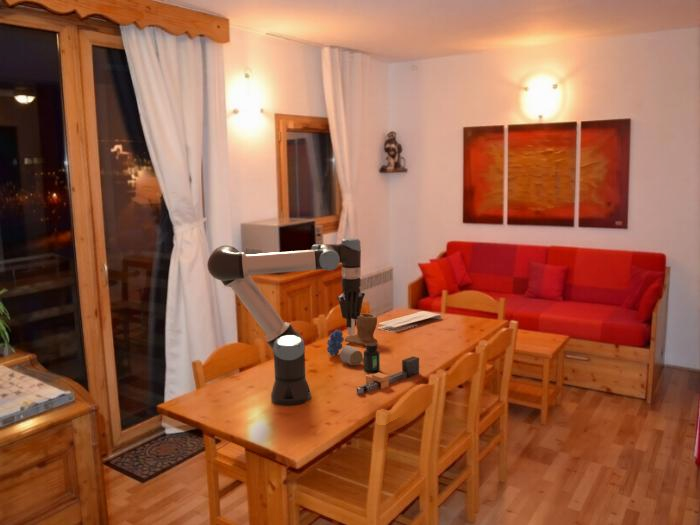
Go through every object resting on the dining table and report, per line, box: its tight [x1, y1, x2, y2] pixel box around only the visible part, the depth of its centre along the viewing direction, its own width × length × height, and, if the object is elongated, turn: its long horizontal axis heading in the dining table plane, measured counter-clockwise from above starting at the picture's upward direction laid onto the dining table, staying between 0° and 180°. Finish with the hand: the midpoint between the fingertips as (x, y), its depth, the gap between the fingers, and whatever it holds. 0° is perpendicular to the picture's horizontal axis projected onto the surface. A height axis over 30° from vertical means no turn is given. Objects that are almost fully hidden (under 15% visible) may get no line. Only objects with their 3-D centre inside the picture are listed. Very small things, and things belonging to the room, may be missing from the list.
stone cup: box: [344, 312, 378, 346], centre depth 298 cm, size 15×12×15 cm
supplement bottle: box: [363, 343, 381, 374], centre depth 257 cm, size 7×7×12 cm
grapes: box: [326, 329, 345, 357], centre depth 281 cm, size 12×7×12 cm, turn 144°
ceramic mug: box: [339, 345, 364, 367], centre depth 269 cm, size 11×8×8 cm
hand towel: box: [377, 310, 443, 334], centre depth 333 cm, size 12×4×40 cm
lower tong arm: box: [365, 356, 420, 394], centre depth 243 cm, size 30×1×7 cm, turn 133°
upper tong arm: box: [356, 356, 417, 396], centre depth 242 cm, size 34×3×7 cm, turn 133°
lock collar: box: [365, 371, 390, 390], centre depth 241 cm, size 4×9×4 cm, turn 43°
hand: (351, 334), depth 243 cm, fingers closed
